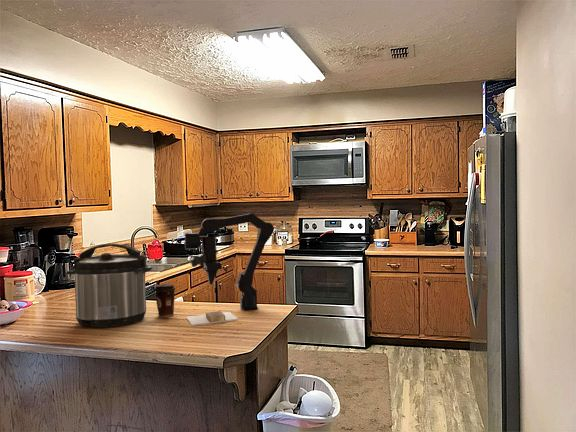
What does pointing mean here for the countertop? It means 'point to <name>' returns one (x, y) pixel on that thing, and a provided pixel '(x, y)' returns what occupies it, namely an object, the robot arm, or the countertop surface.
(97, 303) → the pressure cooker
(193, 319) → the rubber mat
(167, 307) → the coffee cup
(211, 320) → the walnut slab
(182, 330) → the countertop surface
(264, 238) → the robot arm
